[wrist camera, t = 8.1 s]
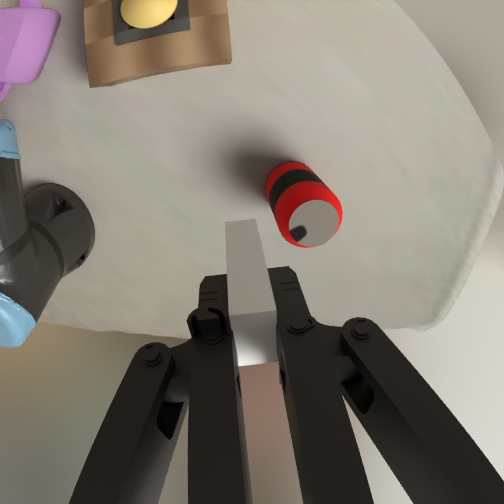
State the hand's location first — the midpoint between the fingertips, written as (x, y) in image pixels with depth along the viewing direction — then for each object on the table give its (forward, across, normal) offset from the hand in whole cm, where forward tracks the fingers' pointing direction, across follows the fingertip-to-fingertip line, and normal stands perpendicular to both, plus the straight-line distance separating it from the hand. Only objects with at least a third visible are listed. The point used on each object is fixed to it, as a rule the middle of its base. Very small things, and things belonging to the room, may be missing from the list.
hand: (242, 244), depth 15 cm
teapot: (+27, -28, +23) cm, 45 cm away
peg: (+26, -7, +19) cm, 33 cm away
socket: (+26, -7, +19) cm, 33 cm away
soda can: (+27, +8, -7) cm, 29 cm away
